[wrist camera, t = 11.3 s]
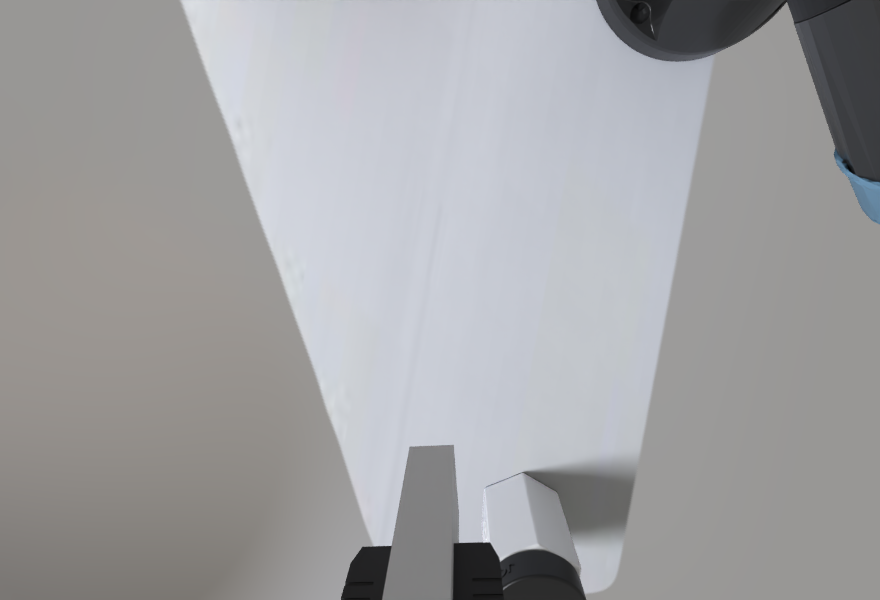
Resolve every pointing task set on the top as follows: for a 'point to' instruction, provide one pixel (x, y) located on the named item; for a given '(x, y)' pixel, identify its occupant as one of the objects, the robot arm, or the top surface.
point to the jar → (531, 541)
